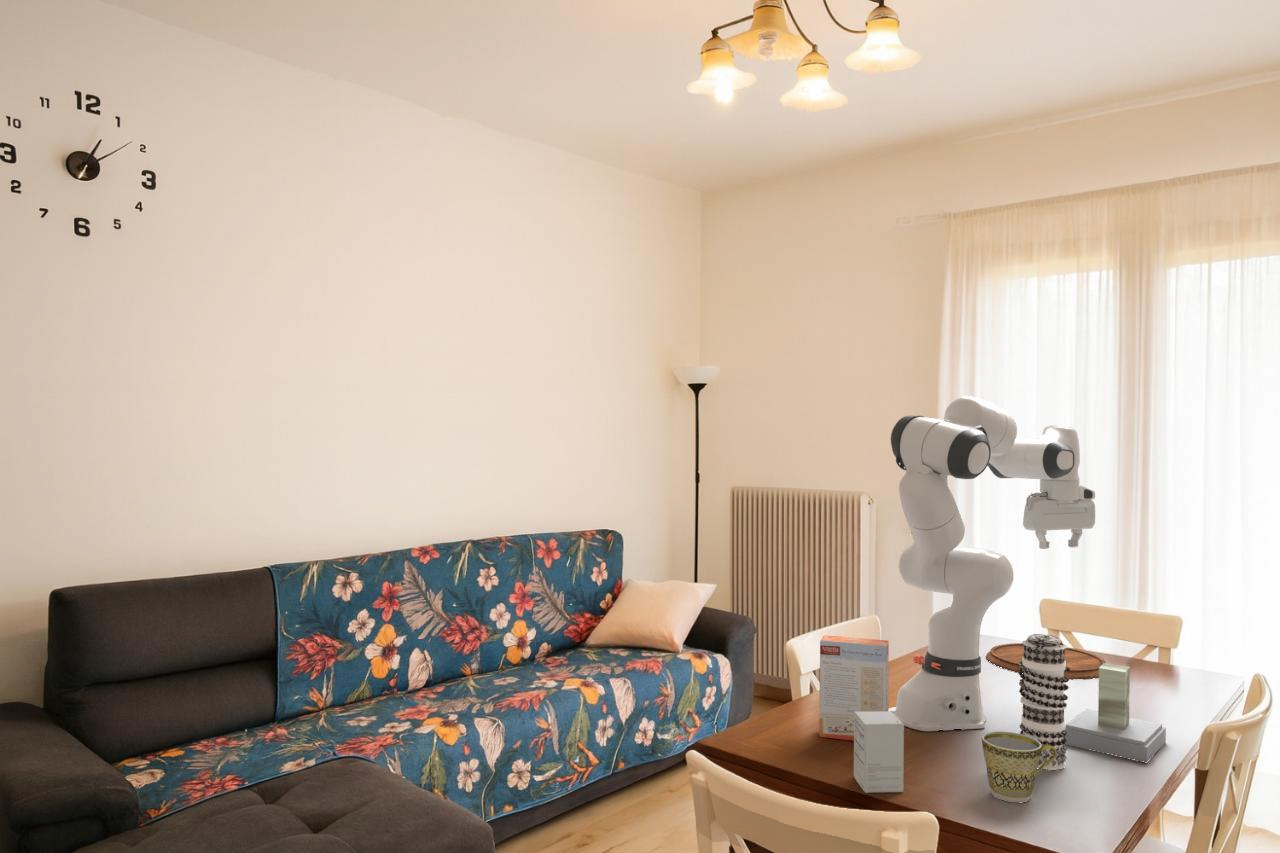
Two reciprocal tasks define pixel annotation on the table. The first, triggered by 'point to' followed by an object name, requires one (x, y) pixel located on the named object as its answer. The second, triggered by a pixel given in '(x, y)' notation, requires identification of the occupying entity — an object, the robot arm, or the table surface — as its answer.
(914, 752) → the table surface
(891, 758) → the supplement box
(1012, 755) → the ceramic cup
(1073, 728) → the plinth
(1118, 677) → the tall block
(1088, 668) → the cutting board
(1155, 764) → the table surface
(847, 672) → the cracker box
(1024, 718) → the decorative candle
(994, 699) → the table surface
